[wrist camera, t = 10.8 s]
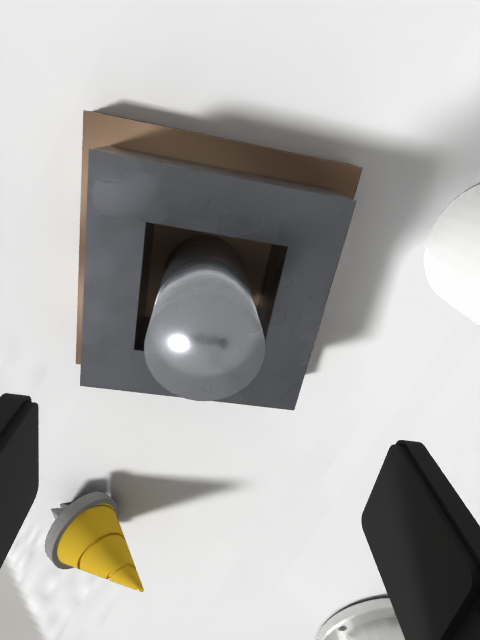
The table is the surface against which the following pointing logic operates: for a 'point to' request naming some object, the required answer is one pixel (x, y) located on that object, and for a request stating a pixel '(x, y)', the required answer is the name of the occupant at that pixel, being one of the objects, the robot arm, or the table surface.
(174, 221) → the socket block
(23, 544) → the table surface
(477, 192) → the mug
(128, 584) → the drill bit
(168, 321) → the steel peg
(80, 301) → the dock board
